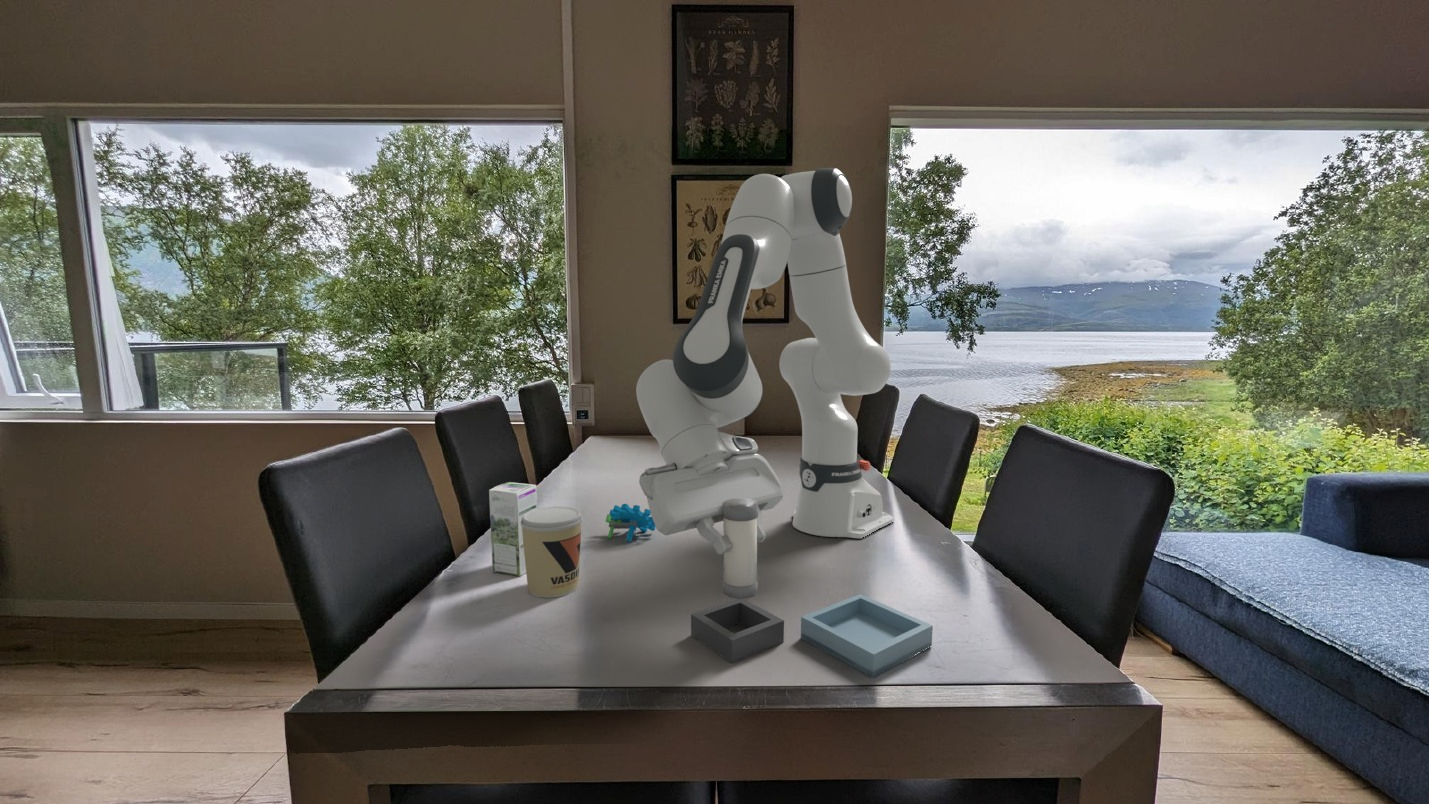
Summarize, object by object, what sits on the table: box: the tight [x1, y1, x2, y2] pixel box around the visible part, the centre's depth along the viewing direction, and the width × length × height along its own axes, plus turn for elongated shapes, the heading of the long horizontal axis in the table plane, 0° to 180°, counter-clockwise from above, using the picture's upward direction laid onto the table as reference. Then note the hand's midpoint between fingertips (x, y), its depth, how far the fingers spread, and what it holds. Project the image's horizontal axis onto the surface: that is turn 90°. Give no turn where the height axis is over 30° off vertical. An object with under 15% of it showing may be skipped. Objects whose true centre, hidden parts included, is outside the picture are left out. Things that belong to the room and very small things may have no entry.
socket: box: [690, 598, 785, 664], centre depth 84 cm, size 9×9×3 cm
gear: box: [605, 503, 656, 543], centre depth 123 cm, size 11×6×10 cm
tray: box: [800, 593, 934, 679], centre depth 83 cm, size 12×12×3 cm
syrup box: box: [488, 481, 538, 577], centre depth 106 cm, size 6×6×14 cm
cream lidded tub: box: [521, 506, 583, 599], centre depth 99 cm, size 9×9×12 cm
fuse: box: [722, 499, 759, 600], centre depth 83 cm, size 5×5×12 cm
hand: (743, 546), depth 82 cm, fingers closed on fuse, 4 cm apart
